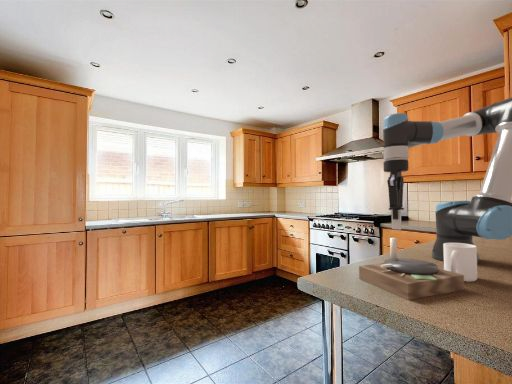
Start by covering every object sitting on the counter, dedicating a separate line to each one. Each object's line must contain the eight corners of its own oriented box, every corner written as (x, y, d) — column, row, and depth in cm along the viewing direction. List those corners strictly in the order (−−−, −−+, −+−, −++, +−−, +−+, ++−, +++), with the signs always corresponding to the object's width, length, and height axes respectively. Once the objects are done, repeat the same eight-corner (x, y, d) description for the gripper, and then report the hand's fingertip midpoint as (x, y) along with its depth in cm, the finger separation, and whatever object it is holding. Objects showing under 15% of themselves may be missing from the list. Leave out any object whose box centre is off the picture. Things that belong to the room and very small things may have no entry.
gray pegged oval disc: (408, 260, 88) (407, 236, 89) (450, 271, 75) (449, 243, 75) (364, 265, 83) (364, 240, 83) (402, 278, 70) (401, 248, 70)
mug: (469, 287, 75) (468, 250, 75) (435, 279, 81) (435, 246, 81) (480, 278, 82) (479, 245, 82) (449, 272, 89) (448, 241, 89)
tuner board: (408, 272, 90) (407, 259, 90) (466, 290, 72) (465, 274, 72) (359, 278, 83) (359, 265, 83) (409, 300, 66) (409, 283, 66)
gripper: (388, 162, 98) (389, 226, 97) (378, 159, 88) (379, 230, 87) (411, 161, 93) (412, 228, 93) (404, 156, 83) (404, 232, 83)
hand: (396, 228), depth 90 cm, fingers closed
